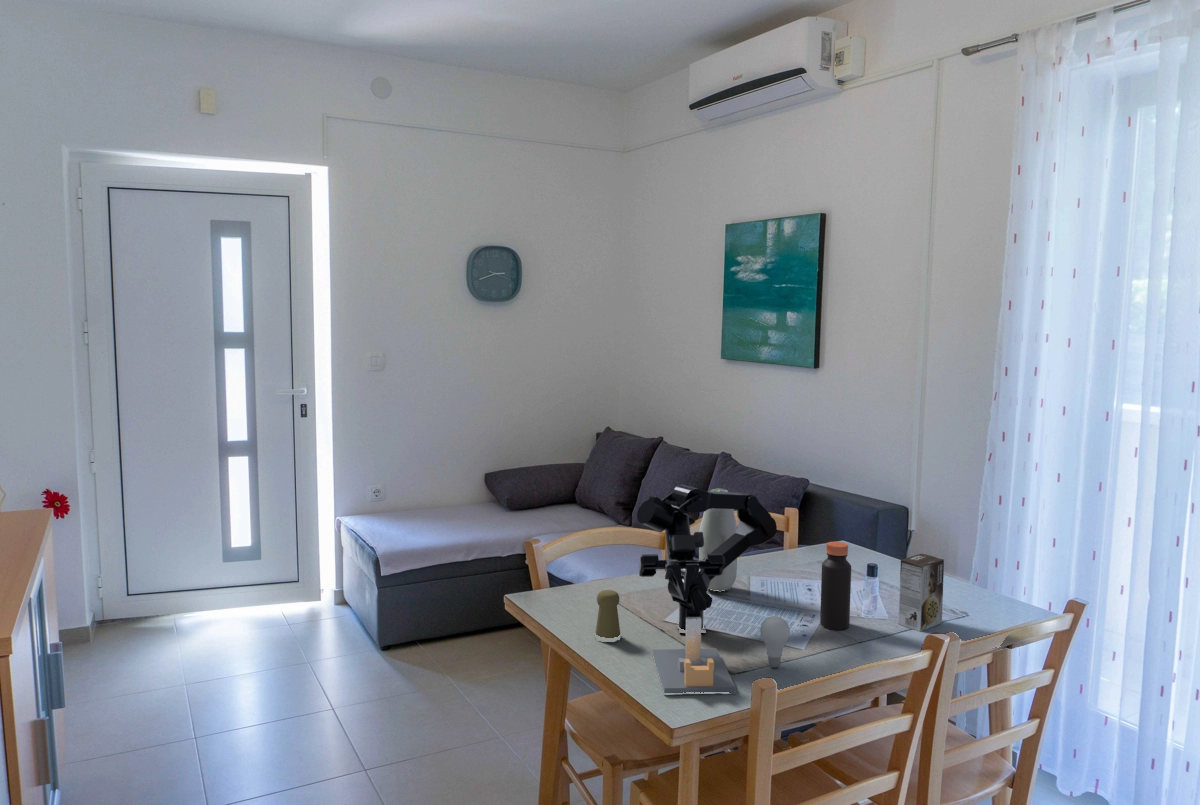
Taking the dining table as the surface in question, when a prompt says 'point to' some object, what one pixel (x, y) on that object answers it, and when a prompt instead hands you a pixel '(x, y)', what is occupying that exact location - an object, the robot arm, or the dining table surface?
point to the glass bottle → (718, 541)
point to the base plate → (678, 677)
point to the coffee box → (921, 592)
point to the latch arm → (693, 640)
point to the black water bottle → (835, 587)
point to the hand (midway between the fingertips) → (685, 600)
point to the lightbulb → (774, 638)
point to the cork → (608, 614)
